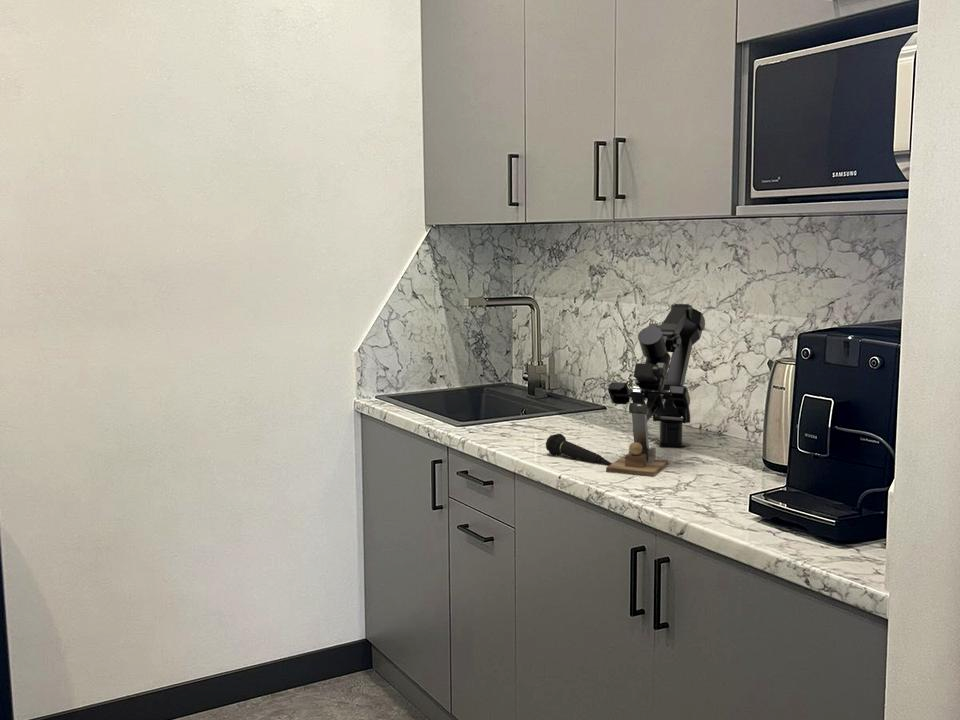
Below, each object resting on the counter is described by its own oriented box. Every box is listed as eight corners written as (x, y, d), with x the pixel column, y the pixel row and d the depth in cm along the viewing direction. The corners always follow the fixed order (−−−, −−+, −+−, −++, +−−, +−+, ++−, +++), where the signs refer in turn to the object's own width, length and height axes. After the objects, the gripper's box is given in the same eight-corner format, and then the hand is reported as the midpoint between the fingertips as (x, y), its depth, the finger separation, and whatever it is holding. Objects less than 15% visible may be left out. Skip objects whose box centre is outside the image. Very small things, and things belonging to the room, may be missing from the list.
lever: (635, 456, 230) (631, 401, 225) (652, 457, 228) (648, 402, 223) (632, 461, 228) (628, 405, 223) (649, 462, 226) (645, 406, 221)
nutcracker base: (623, 460, 233) (623, 433, 232) (668, 464, 228) (669, 437, 227) (606, 471, 221) (606, 443, 221) (653, 476, 217) (653, 448, 216)
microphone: (614, 478, 229) (551, 454, 243) (622, 454, 229) (558, 432, 243) (601, 474, 225) (538, 451, 239) (609, 451, 225) (545, 428, 239)
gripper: (610, 348, 232) (595, 400, 224) (688, 351, 224) (675, 406, 216) (620, 376, 240) (605, 428, 232) (695, 381, 232) (683, 435, 224)
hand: (641, 424), depth 225 cm, fingers closed, pressing on lever
